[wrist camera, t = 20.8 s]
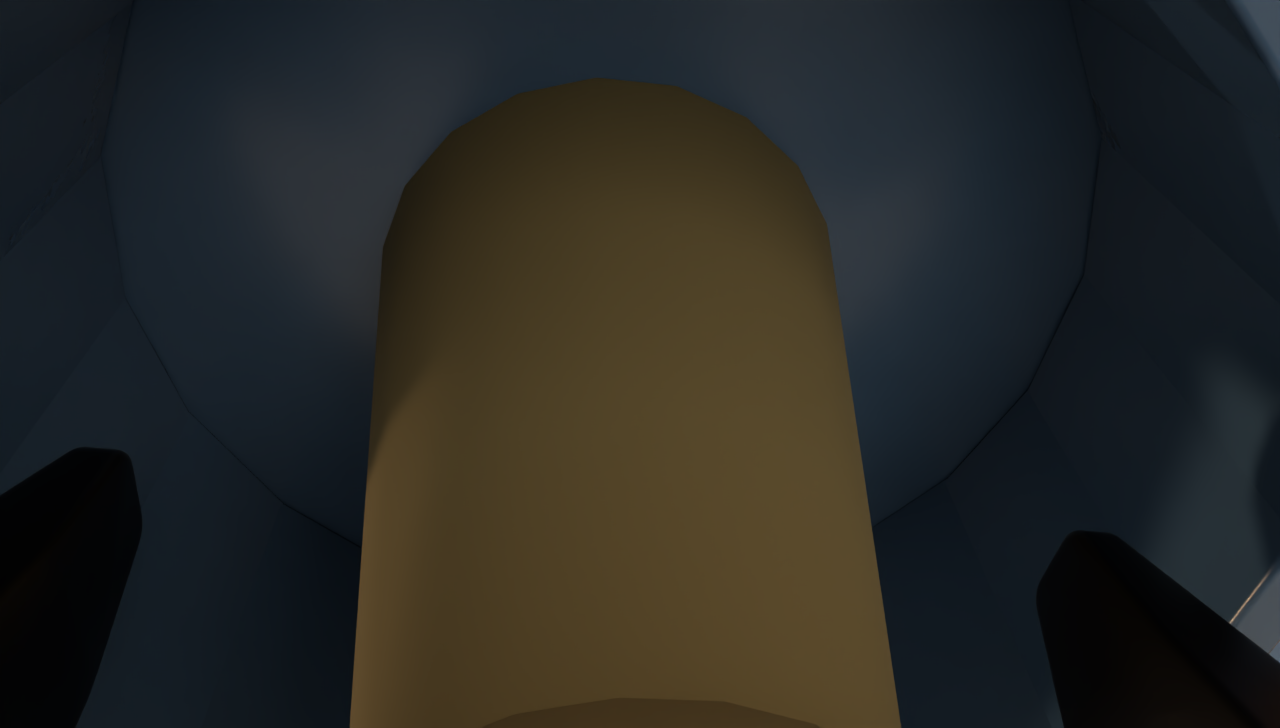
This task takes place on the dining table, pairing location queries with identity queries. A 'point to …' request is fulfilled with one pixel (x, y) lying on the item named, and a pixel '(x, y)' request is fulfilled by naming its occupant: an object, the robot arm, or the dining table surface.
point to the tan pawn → (614, 434)
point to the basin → (863, 267)
